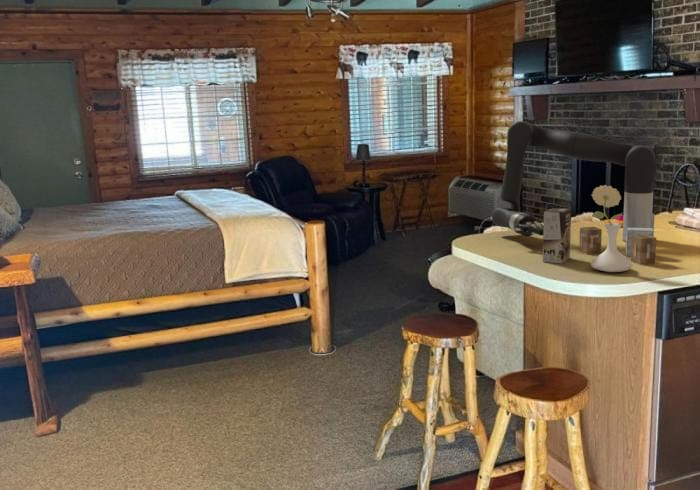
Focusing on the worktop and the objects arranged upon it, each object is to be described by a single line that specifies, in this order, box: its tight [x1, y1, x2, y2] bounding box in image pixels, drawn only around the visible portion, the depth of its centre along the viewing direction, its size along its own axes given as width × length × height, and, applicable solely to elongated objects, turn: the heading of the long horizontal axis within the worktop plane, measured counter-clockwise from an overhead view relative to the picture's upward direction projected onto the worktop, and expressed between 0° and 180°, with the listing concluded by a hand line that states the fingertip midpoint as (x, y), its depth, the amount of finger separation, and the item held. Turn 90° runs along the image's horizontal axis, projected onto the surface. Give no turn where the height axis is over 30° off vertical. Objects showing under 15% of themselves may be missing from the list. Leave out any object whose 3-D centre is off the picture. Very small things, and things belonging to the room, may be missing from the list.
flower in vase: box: [590, 184, 633, 273], centre depth 195 cm, size 13×11×25 cm
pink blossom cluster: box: [603, 214, 624, 228], centre depth 267 cm, size 8×8×4 cm
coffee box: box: [542, 207, 572, 264], centre depth 211 cm, size 9×6×16 cm
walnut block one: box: [630, 235, 657, 266], centre depth 204 cm, size 5×5×8 cm
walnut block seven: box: [578, 226, 603, 255], centre depth 221 cm, size 5×5×8 cm
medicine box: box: [625, 228, 655, 257], centre depth 214 cm, size 8×4×9 cm, turn 71°
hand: (543, 232), depth 221 cm, fingers closed
